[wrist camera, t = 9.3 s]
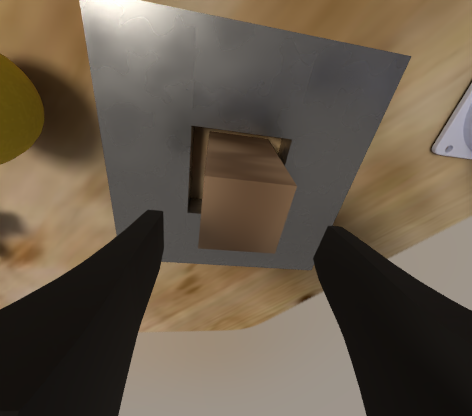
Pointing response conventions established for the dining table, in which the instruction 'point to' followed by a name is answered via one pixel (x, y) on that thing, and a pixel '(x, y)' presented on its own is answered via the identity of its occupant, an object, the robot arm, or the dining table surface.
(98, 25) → the grey plate with hole
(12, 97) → the lemon
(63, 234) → the dining table surface
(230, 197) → the brown rectangular block
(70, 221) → the dining table surface
